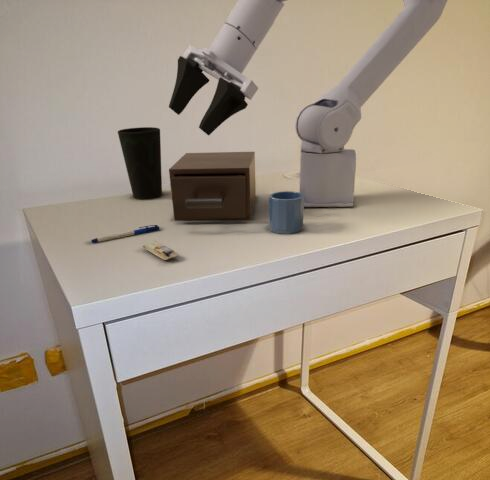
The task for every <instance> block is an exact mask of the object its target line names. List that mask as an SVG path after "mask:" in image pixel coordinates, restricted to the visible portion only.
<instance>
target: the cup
mask: <svg viewBox="0 0 490 480" xmlns="http://www.w3.org/2000/svg"><path fill="white" fill-rule="evenodd" d="M117 135H118V139H119V144H120V148H121V152H122V156H123V161H124V164H125V167H126V172H127V177H128V180H129V184H130V188H131V189H130V190H131V192H132V193H131V194H132V197H133V199H135V200H154V199H158V198H160V197H162V196H163V179H162V176H163V175H162V149H161V146H162V145H161V143H162V142H161V129H160V128H159V127H153V126H152V127H151V126H149V127H148V126H146V127H145V126H144V127H143V126H142V127H131V128H129V127H128V128H123V129H119V130H118V131H117Z"/></svg>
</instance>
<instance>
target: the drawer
mask: <svg viewBox="0 0 490 480" xmlns="http://www.w3.org/2000/svg"><path fill="white" fill-rule="evenodd" d="M244 174H245V173H231V174H180V175H179V176H178V177H171V178H170V177H169V181H170V180H171V184H170V190H171V189H172V193H171V199H172V198H173V202H172V208H173V207H174V211H173V217H174V216H175V219H201V218H246V185H245V175H244Z"/></svg>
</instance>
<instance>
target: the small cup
mask: <svg viewBox="0 0 490 480" xmlns="http://www.w3.org/2000/svg"><path fill="white" fill-rule="evenodd" d="M304 209H305V207H304V194H302V193H300V191H292V190H291V191H289V190H283V191H275V192H272V193H270V194H269V196H268V211H269V212H268V219H269V220H268V226H269V227H268V228H269V231H270V232H273V233H276V234H283V235H290V234H296V233H299V232H302V230H304V215H305V214H304Z"/></svg>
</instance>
